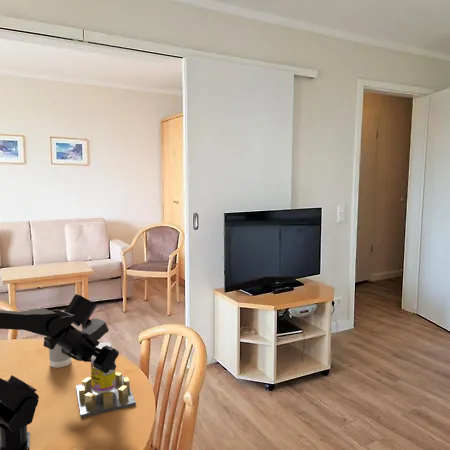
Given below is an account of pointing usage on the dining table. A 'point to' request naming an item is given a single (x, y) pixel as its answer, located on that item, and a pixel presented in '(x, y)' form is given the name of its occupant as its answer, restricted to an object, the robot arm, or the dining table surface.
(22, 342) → the dining table surface
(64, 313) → the robot arm
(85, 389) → the grey tray with blocks
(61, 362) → the spray bottle
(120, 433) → the dining table surface
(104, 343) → the supplement bottle
